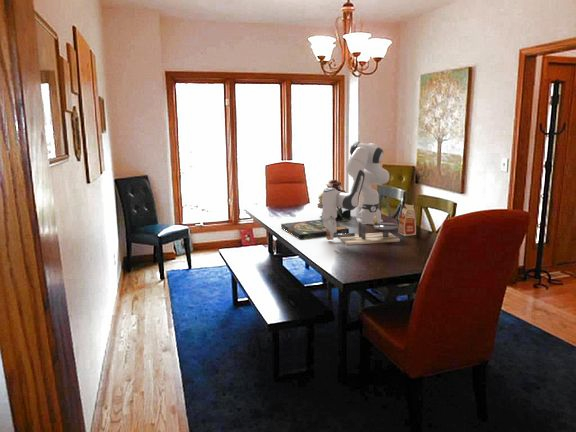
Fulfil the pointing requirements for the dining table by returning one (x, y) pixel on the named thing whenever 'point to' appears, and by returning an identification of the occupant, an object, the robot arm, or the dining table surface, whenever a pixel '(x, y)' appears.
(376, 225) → the handwheel
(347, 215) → the rose bouquet
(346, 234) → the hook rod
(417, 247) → the dining table surface
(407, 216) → the milk carton
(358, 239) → the base board
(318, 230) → the pizza box
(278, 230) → the dining table surface
